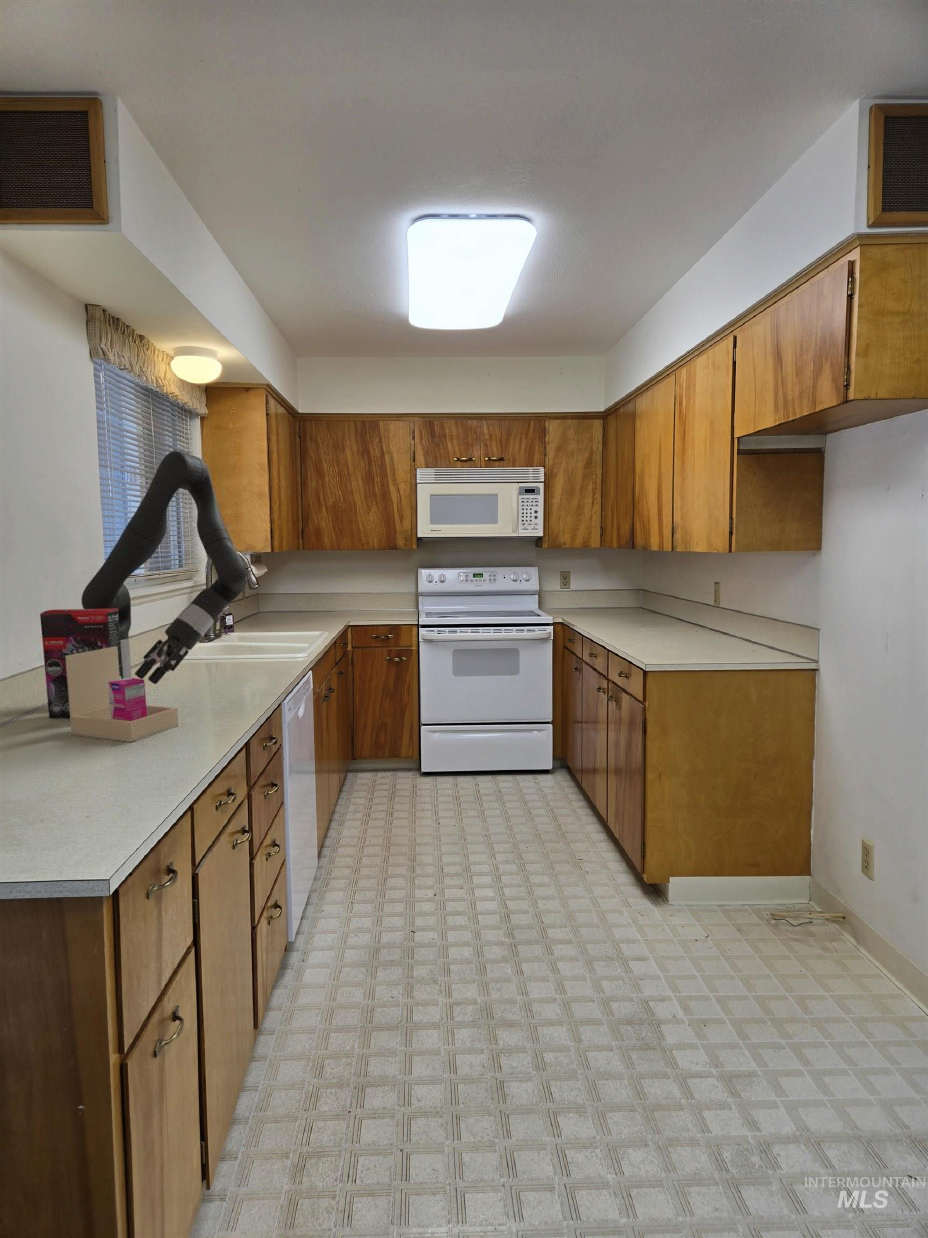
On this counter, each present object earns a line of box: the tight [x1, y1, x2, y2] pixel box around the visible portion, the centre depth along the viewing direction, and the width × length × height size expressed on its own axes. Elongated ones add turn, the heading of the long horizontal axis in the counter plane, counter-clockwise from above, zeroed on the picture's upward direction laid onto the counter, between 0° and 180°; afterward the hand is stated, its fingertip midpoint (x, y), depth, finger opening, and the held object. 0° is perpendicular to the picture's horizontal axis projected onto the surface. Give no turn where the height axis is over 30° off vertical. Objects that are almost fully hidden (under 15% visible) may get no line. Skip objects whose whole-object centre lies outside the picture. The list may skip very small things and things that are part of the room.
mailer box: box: [65, 647, 179, 743], centre depth 164 cm, size 18×14×18 cm
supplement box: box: [108, 677, 147, 721], centre depth 164 cm, size 6×6×12 cm
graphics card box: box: [39, 608, 123, 719], centre depth 178 cm, size 17×7×27 cm, turn 91°
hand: (144, 679), depth 166 cm, fingers open, 8 cm apart
